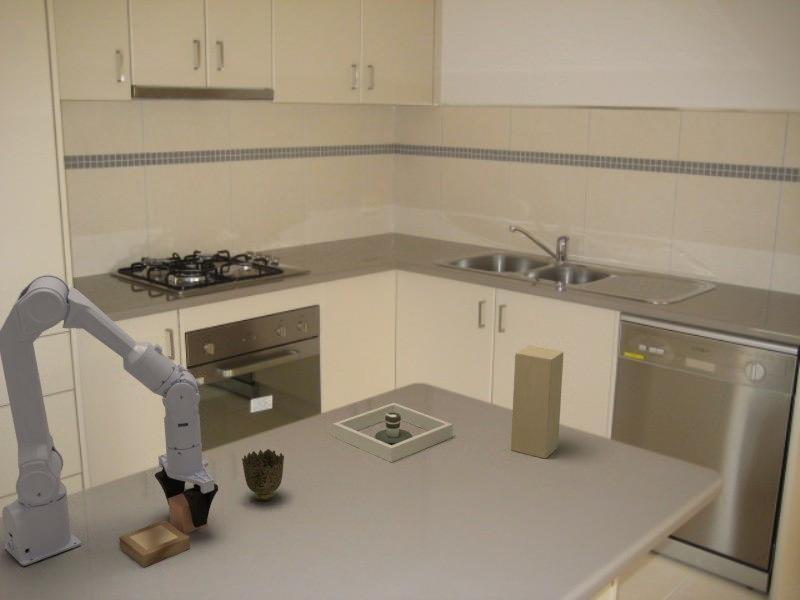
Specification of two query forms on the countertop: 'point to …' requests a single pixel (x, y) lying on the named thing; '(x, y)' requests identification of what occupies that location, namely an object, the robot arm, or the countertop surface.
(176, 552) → the base slab
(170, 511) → the block
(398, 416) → the coffee cup
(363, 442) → the cup tray
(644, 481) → the countertop surface
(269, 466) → the cup
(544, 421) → the tan tall block
